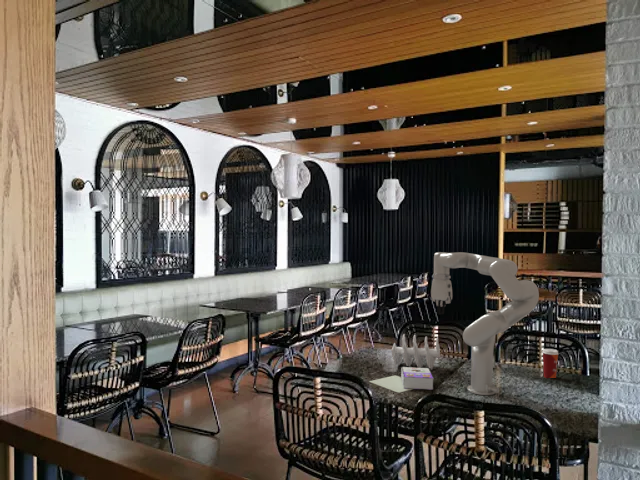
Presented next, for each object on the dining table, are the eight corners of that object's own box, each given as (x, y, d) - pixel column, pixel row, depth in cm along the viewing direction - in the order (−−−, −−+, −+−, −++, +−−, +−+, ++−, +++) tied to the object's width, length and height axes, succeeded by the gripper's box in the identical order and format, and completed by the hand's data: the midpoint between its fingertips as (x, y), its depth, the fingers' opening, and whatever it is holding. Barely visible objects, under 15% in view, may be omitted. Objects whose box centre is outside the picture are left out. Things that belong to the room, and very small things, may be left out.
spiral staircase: (395, 370, 275) (441, 373, 266) (388, 363, 260) (436, 366, 251) (397, 337, 282) (442, 339, 273) (391, 329, 268) (437, 331, 259)
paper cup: (559, 380, 246) (559, 352, 246) (542, 378, 248) (543, 351, 248) (557, 376, 253) (557, 349, 253) (540, 374, 256) (541, 347, 256)
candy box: (433, 390, 228) (428, 379, 244) (433, 377, 228) (429, 367, 244) (403, 388, 229) (400, 378, 246) (403, 376, 229) (401, 366, 245)
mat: (425, 386, 234) (425, 385, 234) (398, 393, 223) (398, 392, 223) (395, 375, 250) (395, 375, 250) (369, 381, 239) (369, 381, 239)
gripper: (458, 278, 239) (458, 315, 239) (434, 275, 251) (433, 311, 251) (448, 278, 234) (448, 317, 235) (424, 276, 246) (424, 312, 247)
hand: (440, 314), depth 243 cm, fingers closed
